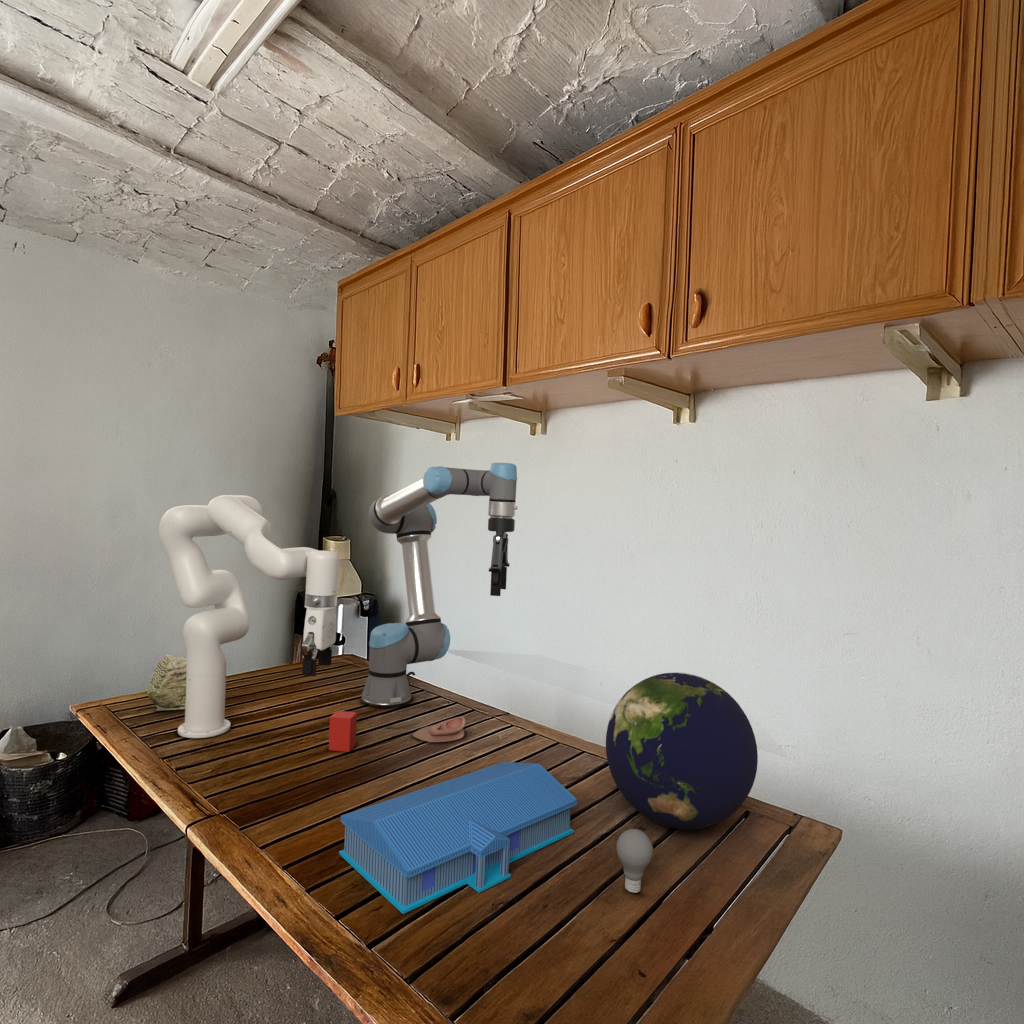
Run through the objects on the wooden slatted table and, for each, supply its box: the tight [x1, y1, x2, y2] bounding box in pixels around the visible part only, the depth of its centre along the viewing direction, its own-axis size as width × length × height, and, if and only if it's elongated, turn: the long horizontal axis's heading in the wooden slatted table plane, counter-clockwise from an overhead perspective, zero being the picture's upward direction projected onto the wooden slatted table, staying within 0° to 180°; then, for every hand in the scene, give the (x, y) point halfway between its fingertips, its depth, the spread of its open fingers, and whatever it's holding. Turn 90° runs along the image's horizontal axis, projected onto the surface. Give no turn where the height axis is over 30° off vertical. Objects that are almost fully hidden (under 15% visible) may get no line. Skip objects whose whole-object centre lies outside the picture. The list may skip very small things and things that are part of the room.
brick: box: [328, 710, 358, 753], centre depth 160 cm, size 5×5×8 cm
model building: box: [338, 761, 578, 915], centre depth 117 cm, size 39×24×10 cm, turn 132°
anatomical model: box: [412, 716, 466, 743], centre depth 171 cm, size 13×4×12 cm
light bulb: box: [615, 828, 654, 894], centre depth 106 cm, size 6×6×10 cm
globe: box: [605, 671, 759, 831], centre depth 130 cm, size 30×30×30 cm
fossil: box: [147, 654, 187, 712], centre depth 185 cm, size 9×18×15 cm, turn 132°
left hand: (317, 670), depth 156 cm, fingers open, 9 cm apart
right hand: (498, 592), depth 180 cm, fingers open, 13 cm apart
